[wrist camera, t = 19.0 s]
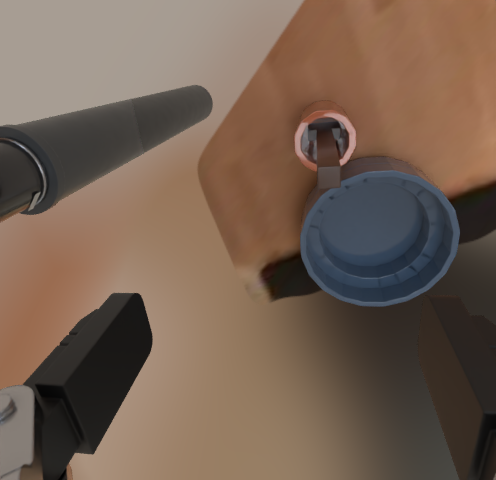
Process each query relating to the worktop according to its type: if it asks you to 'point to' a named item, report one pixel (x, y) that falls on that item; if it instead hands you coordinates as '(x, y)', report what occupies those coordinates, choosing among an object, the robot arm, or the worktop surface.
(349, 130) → the utensil holder
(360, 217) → the bowl
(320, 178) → the stirring stick
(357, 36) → the worktop surface
